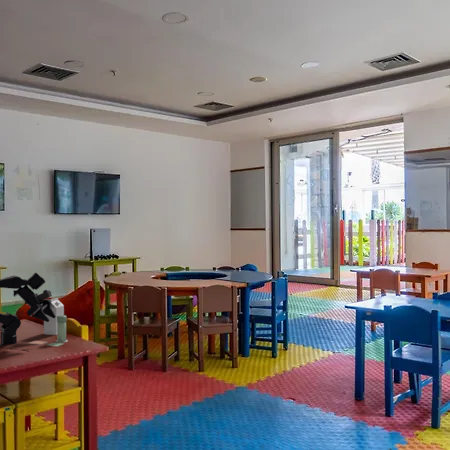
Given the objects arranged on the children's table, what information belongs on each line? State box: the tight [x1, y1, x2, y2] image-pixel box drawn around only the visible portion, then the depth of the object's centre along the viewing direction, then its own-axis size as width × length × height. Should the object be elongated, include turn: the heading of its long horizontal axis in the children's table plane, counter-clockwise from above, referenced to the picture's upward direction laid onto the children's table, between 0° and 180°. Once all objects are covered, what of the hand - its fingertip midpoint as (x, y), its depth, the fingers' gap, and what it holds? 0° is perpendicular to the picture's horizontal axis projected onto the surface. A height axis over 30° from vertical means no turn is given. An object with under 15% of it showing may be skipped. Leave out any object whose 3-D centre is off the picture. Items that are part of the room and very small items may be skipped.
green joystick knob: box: [56, 314, 68, 343], centre depth 236 cm, size 4×4×12 cm
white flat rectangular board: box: [27, 339, 68, 348], centre depth 233 cm, size 18×14×1 cm
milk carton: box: [43, 297, 65, 336], centre depth 253 cm, size 7×7×19 cm
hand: (51, 319), depth 236 cm, fingers open, 9 cm apart
